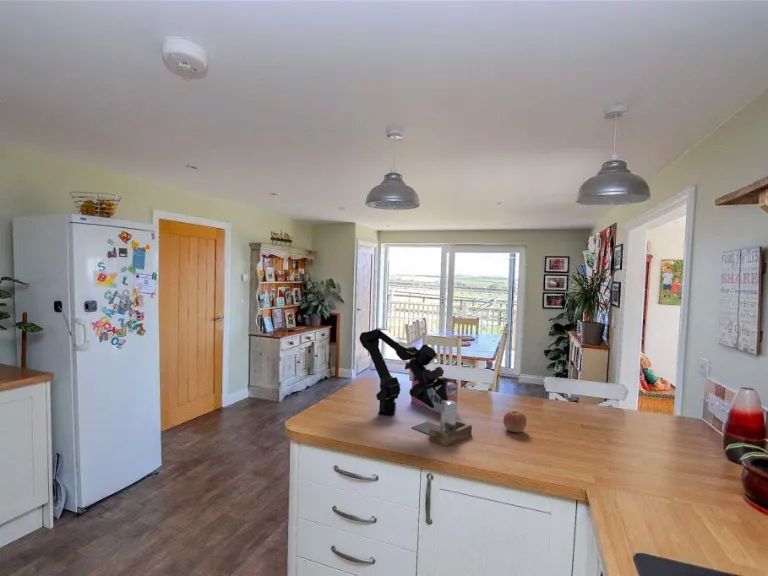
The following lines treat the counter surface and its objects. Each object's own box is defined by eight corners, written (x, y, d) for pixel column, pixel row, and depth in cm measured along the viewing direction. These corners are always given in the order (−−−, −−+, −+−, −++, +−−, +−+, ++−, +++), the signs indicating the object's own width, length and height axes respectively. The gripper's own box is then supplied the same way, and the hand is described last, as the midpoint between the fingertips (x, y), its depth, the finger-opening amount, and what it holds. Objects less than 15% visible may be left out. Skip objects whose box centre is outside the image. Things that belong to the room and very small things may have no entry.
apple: (527, 436, 157) (528, 416, 157) (503, 433, 159) (504, 413, 159) (524, 428, 166) (525, 409, 165) (501, 425, 167) (502, 407, 167)
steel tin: (439, 438, 152) (440, 404, 152) (441, 432, 158) (442, 399, 158) (455, 440, 151) (456, 406, 150) (456, 434, 157) (458, 401, 156)
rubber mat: (411, 428, 161) (411, 427, 161) (427, 422, 168) (427, 421, 168) (430, 435, 154) (430, 434, 154) (446, 429, 161) (446, 428, 161)
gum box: (408, 401, 196) (409, 373, 196) (420, 398, 201) (421, 371, 201) (445, 415, 178) (447, 385, 177) (457, 412, 183) (458, 382, 183)
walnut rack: (428, 439, 151) (429, 428, 151) (453, 428, 162) (454, 419, 162) (446, 446, 145) (447, 435, 145) (471, 435, 156) (471, 425, 156)
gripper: (416, 363, 154) (437, 398, 146) (445, 357, 167) (466, 389, 160) (400, 379, 160) (420, 414, 152) (429, 373, 173) (450, 404, 165)
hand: (440, 405), depth 157 cm, fingers open, 9 cm apart
